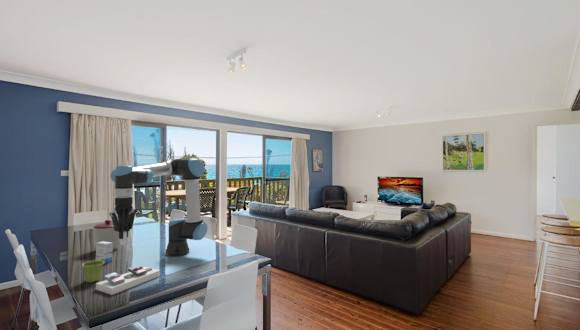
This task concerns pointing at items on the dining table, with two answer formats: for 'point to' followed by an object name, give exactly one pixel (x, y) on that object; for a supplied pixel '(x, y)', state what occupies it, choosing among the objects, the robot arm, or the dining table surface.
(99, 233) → the canister
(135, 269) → the charcoal rocker
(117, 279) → the slate rocker
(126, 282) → the power strip
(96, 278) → the plant pot
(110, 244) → the ink box
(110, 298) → the dining table surface
